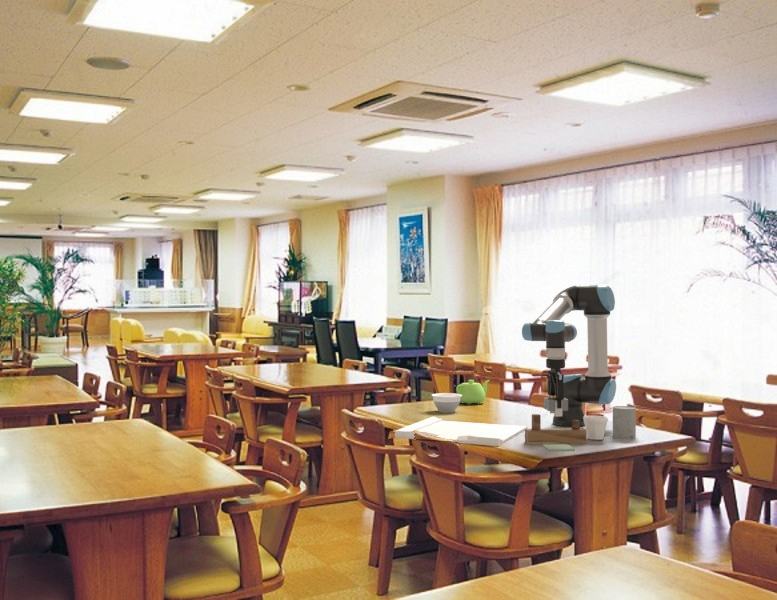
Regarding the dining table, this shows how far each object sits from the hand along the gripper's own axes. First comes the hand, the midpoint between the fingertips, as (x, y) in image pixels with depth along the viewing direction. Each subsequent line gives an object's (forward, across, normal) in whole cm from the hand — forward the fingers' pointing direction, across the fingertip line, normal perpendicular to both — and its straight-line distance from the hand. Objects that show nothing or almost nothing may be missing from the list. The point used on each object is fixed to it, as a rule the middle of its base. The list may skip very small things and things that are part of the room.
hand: (556, 414), depth 323 cm
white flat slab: (+12, -25, -34) cm, 44 cm away
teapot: (+14, -122, -12) cm, 123 cm away
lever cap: (-2, 0, 0) cm, 2 cm away
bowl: (+13, -91, -31) cm, 97 cm away
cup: (+12, -6, +18) cm, 23 cm away
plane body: (+11, +1, 0) cm, 11 cm away
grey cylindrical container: (+12, -12, +33) cm, 37 cm away
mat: (+11, +12, -2) cm, 16 cm away
